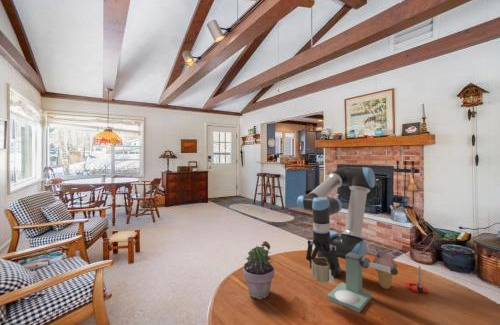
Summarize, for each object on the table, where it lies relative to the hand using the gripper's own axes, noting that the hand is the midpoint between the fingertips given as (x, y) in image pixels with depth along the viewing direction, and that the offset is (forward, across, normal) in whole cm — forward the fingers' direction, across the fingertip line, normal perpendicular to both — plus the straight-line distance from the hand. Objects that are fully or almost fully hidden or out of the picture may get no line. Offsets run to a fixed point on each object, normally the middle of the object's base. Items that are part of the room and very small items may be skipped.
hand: (322, 278), depth 113 cm
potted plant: (+11, -26, -17) cm, 33 cm away
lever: (-3, +19, +17) cm, 26 cm away
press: (+11, +8, +11) cm, 18 cm away
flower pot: (+1, 0, 0) cm, 1 cm away
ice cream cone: (+12, +17, +34) cm, 40 cm away
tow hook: (+13, +29, +43) cm, 53 cm away
